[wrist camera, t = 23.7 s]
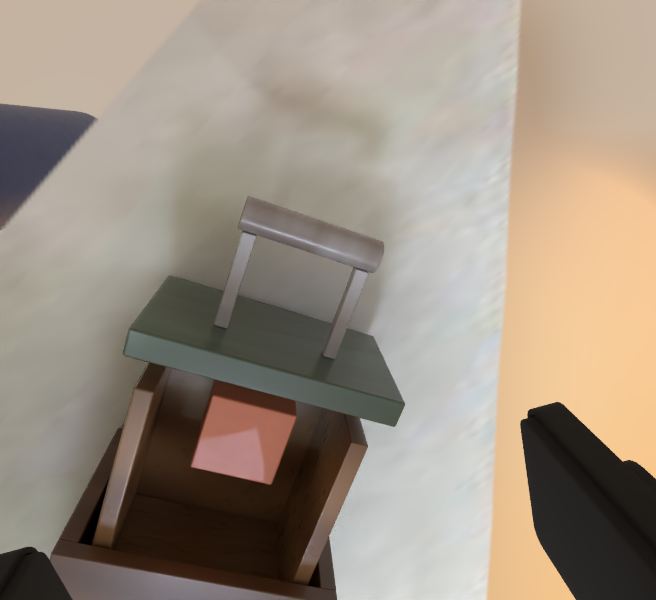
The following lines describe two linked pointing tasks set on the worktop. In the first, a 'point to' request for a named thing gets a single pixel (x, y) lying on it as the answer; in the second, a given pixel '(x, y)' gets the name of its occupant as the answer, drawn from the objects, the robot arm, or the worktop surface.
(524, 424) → the robot arm
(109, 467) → the cabinet
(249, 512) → the drawer
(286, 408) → the block
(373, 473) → the worktop surface
